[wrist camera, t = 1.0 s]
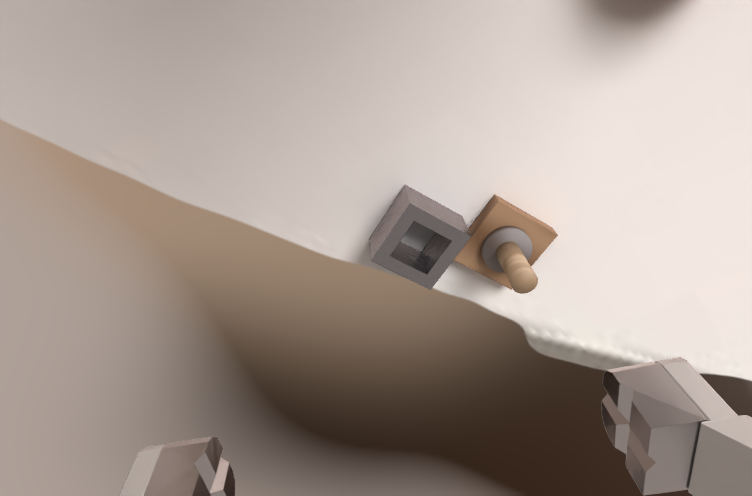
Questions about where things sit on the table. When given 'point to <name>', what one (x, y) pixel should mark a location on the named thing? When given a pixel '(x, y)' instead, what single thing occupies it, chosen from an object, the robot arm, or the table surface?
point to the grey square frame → (437, 251)
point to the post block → (506, 245)
